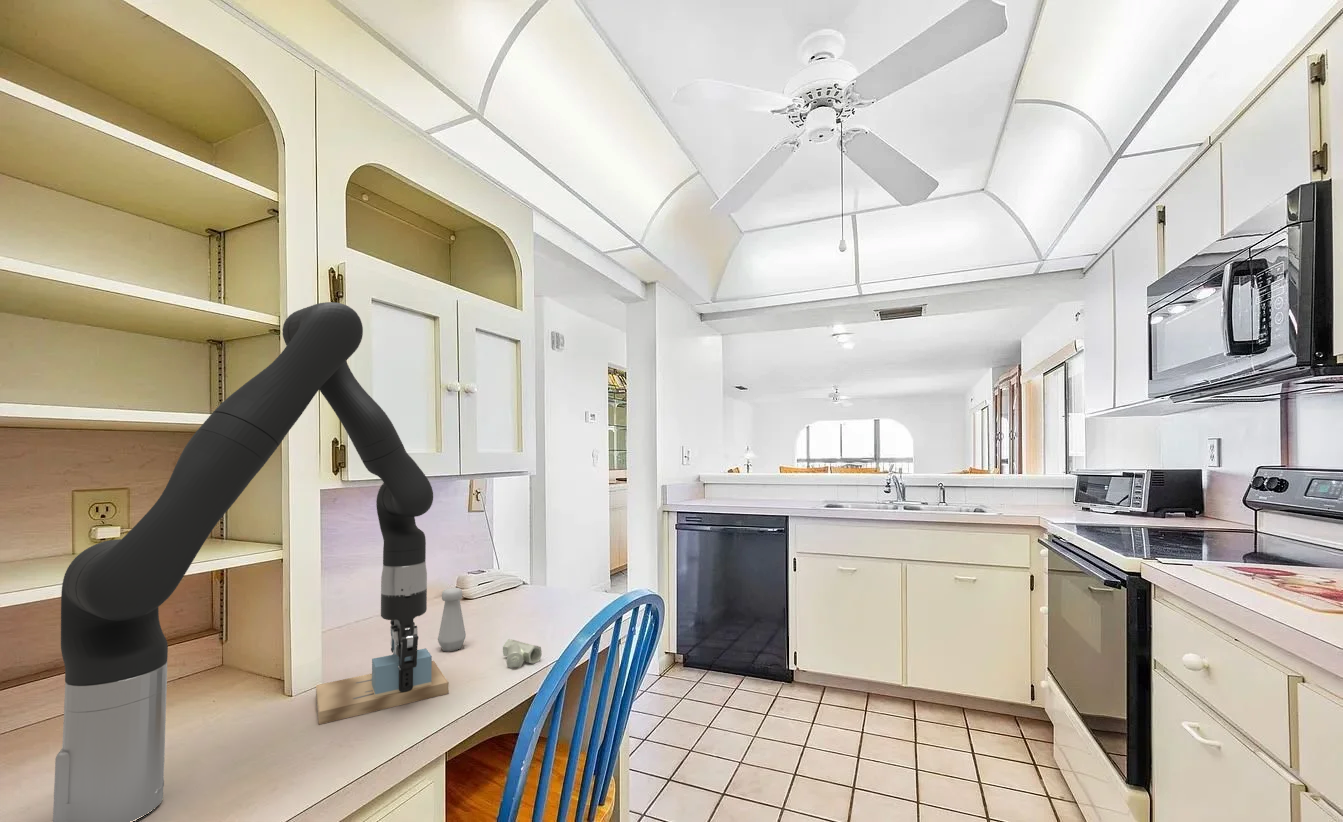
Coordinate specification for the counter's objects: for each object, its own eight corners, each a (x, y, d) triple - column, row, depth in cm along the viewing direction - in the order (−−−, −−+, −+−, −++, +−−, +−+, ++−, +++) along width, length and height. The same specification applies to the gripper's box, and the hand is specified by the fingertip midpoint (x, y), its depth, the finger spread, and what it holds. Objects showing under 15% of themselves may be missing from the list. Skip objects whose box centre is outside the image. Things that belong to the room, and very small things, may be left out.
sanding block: (375, 697, 99) (375, 667, 99) (371, 687, 103) (372, 658, 103) (431, 684, 104) (431, 656, 104) (425, 675, 108) (426, 648, 108)
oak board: (318, 724, 93) (319, 711, 94) (316, 696, 104) (316, 684, 104) (448, 693, 104) (448, 682, 105) (433, 670, 115) (433, 660, 115)
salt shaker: (456, 653, 125) (456, 592, 126) (432, 652, 126) (432, 591, 127) (470, 644, 130) (470, 586, 131) (447, 643, 132) (448, 585, 132)
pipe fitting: (516, 674, 114) (542, 660, 120) (515, 655, 114) (540, 642, 120) (490, 666, 119) (515, 653, 124) (489, 647, 119) (514, 635, 124)
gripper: (376, 583, 108) (374, 676, 107) (386, 600, 96) (385, 705, 95) (419, 578, 112) (418, 667, 111) (434, 593, 100) (433, 693, 99)
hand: (403, 684), depth 103 cm, fingers closed on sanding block, 5 cm apart
